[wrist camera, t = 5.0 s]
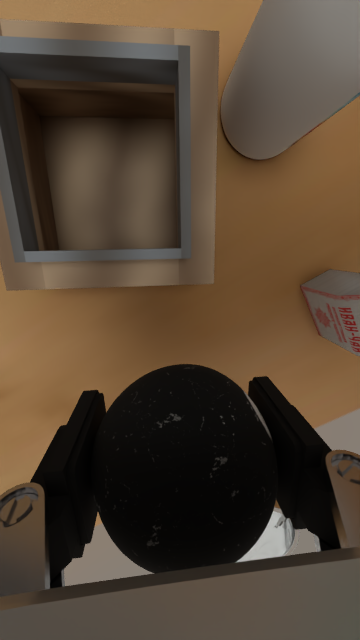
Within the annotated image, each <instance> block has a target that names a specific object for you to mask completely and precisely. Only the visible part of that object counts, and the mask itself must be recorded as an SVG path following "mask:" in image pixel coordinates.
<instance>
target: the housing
mask: <svg viewBox="0 0 360 640" xmlns="http://www.w3.org/2000/svg"><path fill="white" fill-rule="evenodd" d="M218 64H219V31H207V30H190V29H172V28H154V27H136V26H118V25H101V24H83V23H65V22H47V21H30V20H12V19H0V262H1V267H2V271H3V276H4V280H5V285H6V290H7V291H8V290H39V289H70V288H101V287H132V286H163V285H194V284H214V255H215V207H216V159H217V112H218Z"/></svg>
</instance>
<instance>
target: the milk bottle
mask: <svg viewBox="0 0 360 640" xmlns="http://www.w3.org/2000/svg"><path fill="white" fill-rule="evenodd" d="M359 95H360V0H263V2H262V4H261V6H260V9H259V11H258V13H257V15H256V17H255V20H254V22H253V24H252V26H251V29H250V31H249V33H248V35H247V38H246V40H245V42H244V44H243V47H242V49H241V51H240V53H239V56H238V58H237V60H236V62H235V65H234V67H233V69H232V72H231V74H230V76H229V78H228V81H227V84H226V86H225V89H224V92H223V95H222V100H221V121H222V126H223V129H224V132H225V134H226V137H227V139H228V140H229V142H230V143H231V145H232V146H233V147H234V148H235V149H236V150H237V151H238V152H239V153H241V154H242V155H244V156H246V157H249V158H252V159H260V160H262V159H269V158H272V157H274V156H277V155H278V154H280V153H282V152H283V151H285V150H286V149H288V148H289V147H290V146H292V145H293V144H295V143H296V142H297V141H299V140H300V139H301V138H303V137H304V136H306V135H307V134H308V133H310V132H311V131H312V130H314V129H315V128H316V127H318V126H319V125H321V124H322V123H323V122H325V121H326V120H327V119H329V118H330V117H331V116H333V115H334V114H335V113H337V112H338V111H339V110H341V109H342V108H343V107H345V106H346V105H347V104H349V103H350V102H351V101H353V100H354V99H355V98H357V97H358V96H359Z"/></svg>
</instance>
